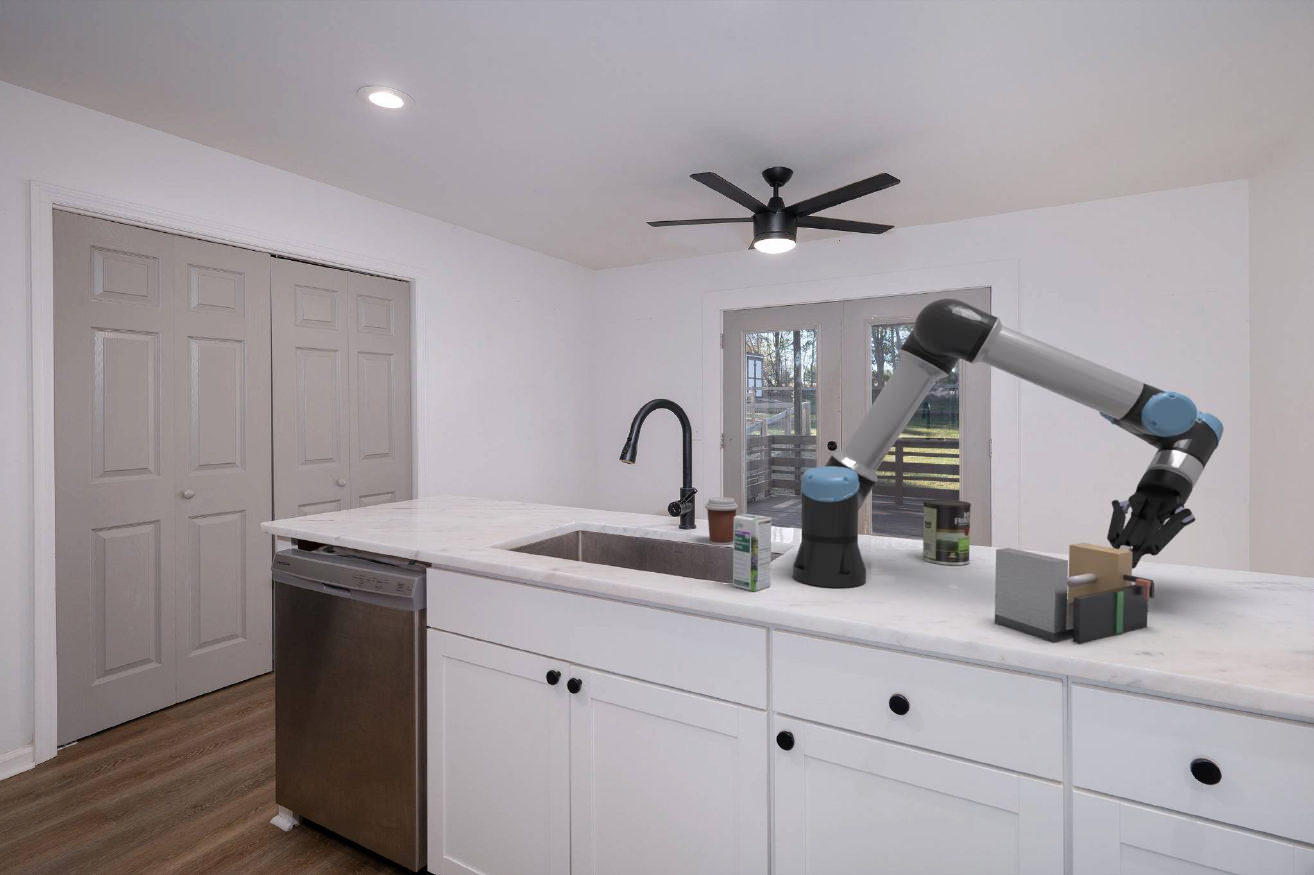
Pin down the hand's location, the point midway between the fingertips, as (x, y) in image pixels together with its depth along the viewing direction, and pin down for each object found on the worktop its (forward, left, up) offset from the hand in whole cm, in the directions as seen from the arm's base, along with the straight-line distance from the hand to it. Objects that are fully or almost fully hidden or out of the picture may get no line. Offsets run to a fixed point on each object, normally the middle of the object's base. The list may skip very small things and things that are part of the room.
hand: (1112, 578), depth 110 cm
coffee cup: (-84, +20, -6) cm, 87 cm away
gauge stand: (-6, -11, -6) cm, 14 cm away
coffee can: (-29, +28, -6) cm, 41 cm away
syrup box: (-61, -16, -6) cm, 64 cm away
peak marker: (+3, -8, -1) cm, 9 cm away
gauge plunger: (-2, -7, -4) cm, 8 cm away
